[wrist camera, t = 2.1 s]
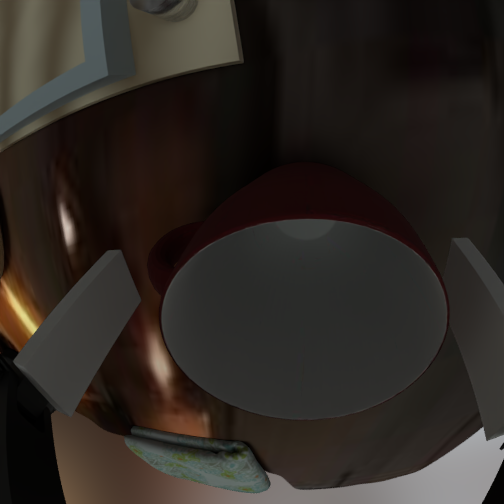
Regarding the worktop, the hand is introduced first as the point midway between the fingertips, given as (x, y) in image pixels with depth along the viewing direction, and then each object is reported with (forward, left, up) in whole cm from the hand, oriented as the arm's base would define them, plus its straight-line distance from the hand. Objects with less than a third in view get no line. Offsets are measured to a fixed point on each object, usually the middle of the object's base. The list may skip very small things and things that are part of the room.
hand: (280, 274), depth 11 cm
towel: (-16, -42, -7) cm, 46 cm away
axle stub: (-4, +12, -5) cm, 13 cm away
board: (-12, +17, -6) cm, 22 cm away
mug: (0, 0, -6) cm, 6 cm away
